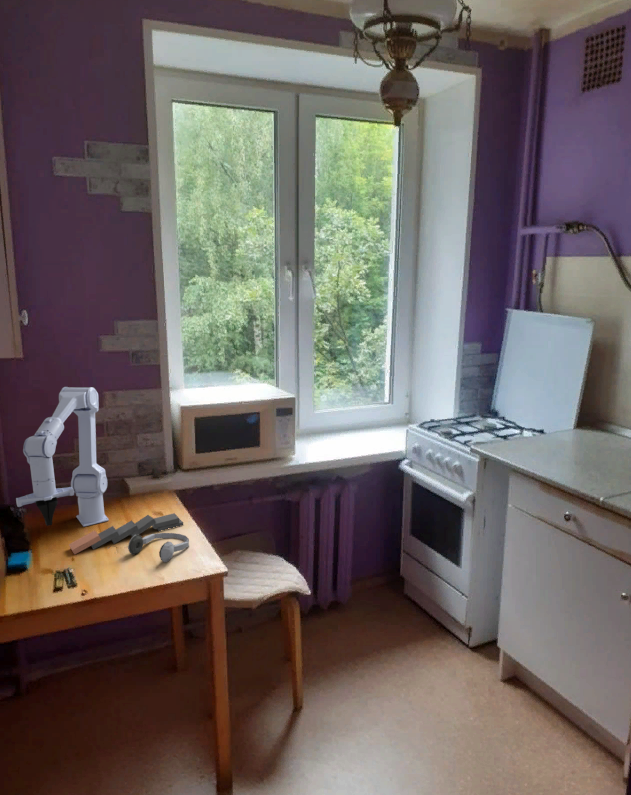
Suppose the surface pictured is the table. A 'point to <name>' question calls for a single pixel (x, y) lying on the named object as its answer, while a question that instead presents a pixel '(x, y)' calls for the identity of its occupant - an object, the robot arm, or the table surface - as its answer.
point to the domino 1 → (84, 542)
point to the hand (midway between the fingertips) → (48, 524)
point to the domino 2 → (106, 537)
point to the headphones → (166, 548)
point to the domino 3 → (125, 531)
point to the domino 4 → (143, 525)
